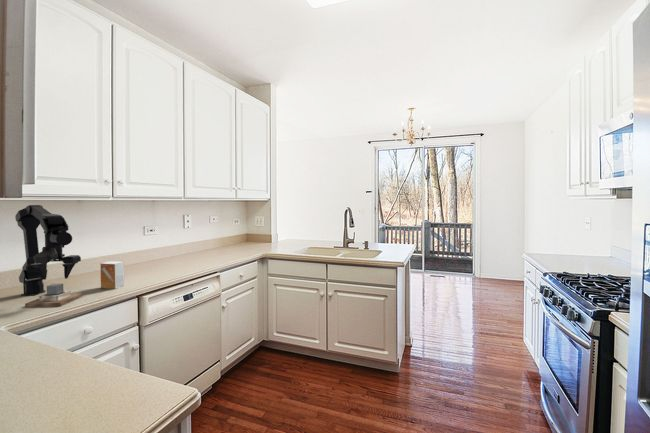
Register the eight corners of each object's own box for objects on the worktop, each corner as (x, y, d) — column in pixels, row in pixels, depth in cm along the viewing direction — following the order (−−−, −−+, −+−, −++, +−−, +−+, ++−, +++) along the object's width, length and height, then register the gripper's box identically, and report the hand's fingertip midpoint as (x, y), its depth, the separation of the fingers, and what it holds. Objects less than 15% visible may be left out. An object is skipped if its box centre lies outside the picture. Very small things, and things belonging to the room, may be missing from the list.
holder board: (25, 307, 132) (24, 298, 131) (50, 296, 145) (50, 289, 145) (61, 306, 133) (60, 298, 133) (83, 296, 147) (82, 288, 147)
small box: (100, 288, 160) (99, 263, 159) (110, 285, 166) (109, 260, 165) (115, 289, 159) (114, 263, 158) (124, 285, 165) (123, 261, 164)
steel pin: (47, 299, 137) (46, 286, 137) (54, 296, 141) (53, 283, 141) (56, 299, 137) (56, 285, 137) (63, 296, 141) (63, 283, 141)
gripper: (14, 246, 129) (16, 284, 130) (63, 246, 131) (64, 283, 131) (36, 243, 140) (37, 277, 141) (81, 242, 142) (82, 276, 143)
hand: (55, 278), depth 139 cm, fingers open, 9 cm apart
